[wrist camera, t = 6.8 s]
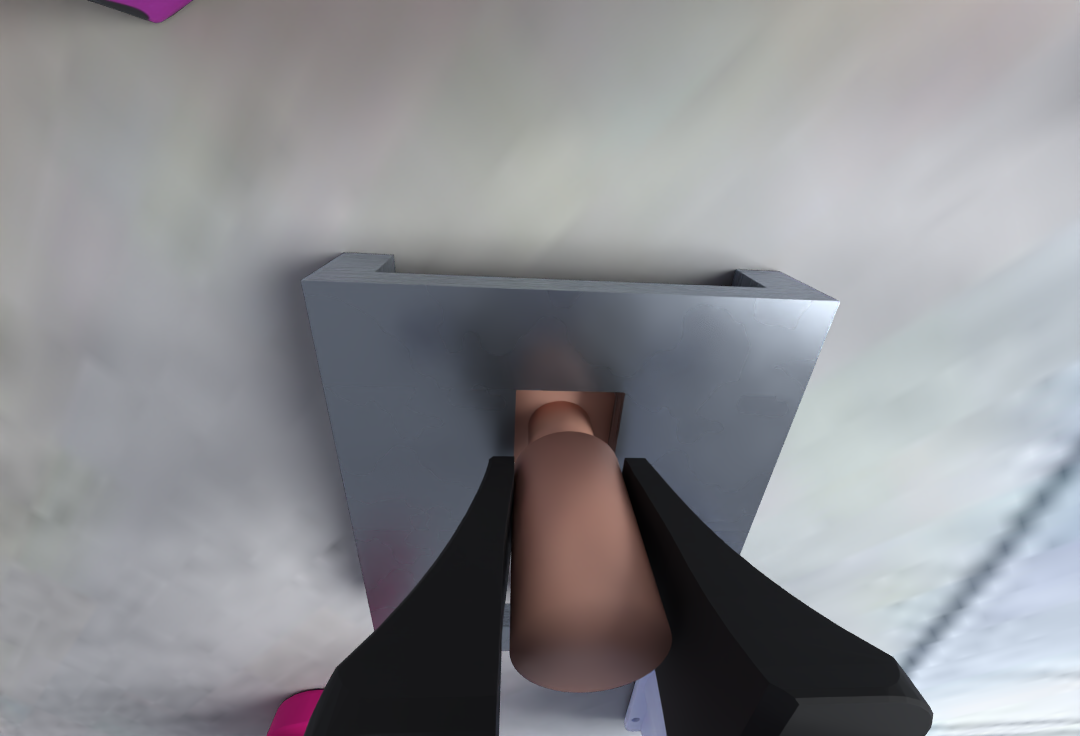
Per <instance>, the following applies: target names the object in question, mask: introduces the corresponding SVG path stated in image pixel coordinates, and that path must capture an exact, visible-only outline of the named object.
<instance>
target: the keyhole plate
mask: <svg viewBox="0 0 1080 736" xmlns="http://www.w3.org/2000/svg"><path fill="white" fill-rule="evenodd" d="M301 284H302V289H303V293H304V298H305V303H306V308H307V312H308V317H309V322H310V327H311V332H312V336H313V341H314V346H315V351H316V355H317V360H318V365H319V370H320V374H321V379H322V384H323V389H324V393H325V398H326V403H327V408H328V413H329V417H330V422H331V427H332V432H333V436H334V441H335V446H336V451H337V455H338V460H339V465H340V470H341V474H342V479H343V484H344V489H345V494H346V498H347V503H348V508H349V513H350V517H351V522H352V527H353V532H354V536H355V541H356V546H357V551H358V556H359V560H360V565H361V570H362V575H363V579H364V584H365V589H366V594H367V598H368V603H369V608H370V613H371V617H372V622H373V627H374V631H375V630H376V629H377V628H378V627H379V626H380V625H381V624H382V623H383V622H384V621H385V620H386V619H387V617H388V616H389V615H390V614H391V613H392V612H393V611H394V610H395V609H396V608H397V607H398V605H399V604H400V603H401V602H402V601H403V600H404V599H405V598H406V597H407V596H408V594H409V593H410V592H411V591H412V590H413V589H414V587H415V586H416V585H417V584H418V582H419V581H420V580H421V579H422V577H423V576H424V575H425V574H426V572H427V571H428V570H429V568H430V567H431V566H432V565H433V563H434V562H435V561H436V559H437V558H438V556H439V555H440V554H441V552H442V551H443V549H444V548H445V546H446V545H447V543H448V542H449V540H450V539H451V537H452V536H453V534H454V533H455V531H456V529H457V528H458V526H459V524H460V523H461V521H462V519H463V518H464V516H465V514H466V512H467V511H468V509H469V507H470V505H471V503H472V501H473V499H474V497H475V495H476V493H477V491H478V489H479V487H480V484H481V482H482V480H483V477H484V475H485V472H486V469H487V466H488V462H489V459H490V458H491V457H493V456H514V437H515V406H516V390H540V391H581V392H616V395H615V401H614V407H613V414H612V420H611V426H610V433H609V439H608V446H609V447H610V448H611V449H612V450H613V452H614V453H615V455H616V457H617V459H618V463H619V466H620V469H621V472H622V469H623V464H624V459H625V458H646V460H647V461H648V462H649V463H650V464H651V465H652V466H653V467H654V469H655V470H656V471H657V472H658V473H659V474H660V476H661V477H662V478H663V479H664V480H665V481H666V482H667V484H668V485H669V486H670V487H671V488H672V489H673V490H674V491H675V493H676V494H677V495H678V496H679V497H680V498H681V499H682V500H683V501H684V502H685V503H686V505H687V506H688V507H689V508H690V509H691V510H692V511H693V512H694V513H695V514H696V515H697V516H698V517H699V518H700V519H701V520H702V521H703V522H704V523H705V524H706V525H707V526H708V527H709V528H710V529H711V530H712V531H713V532H714V533H715V534H716V535H717V536H718V537H719V538H721V539H722V540H723V541H724V542H725V543H726V544H727V545H728V546H730V547H731V548H732V549H733V550H734V551H735V552H737V553H738V554H739V555H740V553H741V550H742V548H743V545H744V543H745V540H746V538H747V535H748V533H749V530H750V527H751V525H752V522H753V520H754V517H755V515H756V512H757V510H758V507H759V505H760V502H761V500H762V497H763V495H764V492H765V490H766V487H767V485H768V482H769V480H770V477H771V475H772V472H773V469H774V467H775V464H776V462H777V459H778V457H779V454H780V452H781V449H782V447H783V444H784V442H785V439H786V437H787V434H788V432H789V429H790V427H791V424H792V422H793V419H794V417H795V414H796V412H797V409H798V406H799V404H800V401H801V399H802V396H803V394H804V391H805V389H806V386H807V384H808V381H809V379H810V376H811V374H812V371H813V369H814V366H815V364H816V361H817V359H818V356H819V354H820V351H821V348H822V346H823V343H824V341H825V338H826V336H827V333H828V331H829V328H830V326H831V323H832V321H833V318H834V316H835V313H836V311H837V308H838V306H839V303H840V301H838V300H836V299H834V298H832V297H830V296H828V295H826V294H824V293H822V292H820V291H818V290H816V289H814V288H812V287H810V286H808V285H806V284H804V283H802V282H800V281H798V280H796V279H794V278H792V277H790V276H788V275H786V274H784V273H782V272H780V271H759V270H736V271H735V275H734V279H733V282H732V286H707V285H682V284H658V283H633V282H609V281H584V280H559V279H535V278H510V277H485V276H461V275H436V274H412V273H396V271H395V261H394V255H389V254H366V253H343V254H341V255H340V256H338V257H337V258H335V259H333V260H332V261H330V262H329V263H327V264H326V265H324V266H323V267H321V268H319V269H318V270H316V271H315V272H313V273H312V274H310V275H308V276H307V277H305V278H304V279H302V280H301ZM509 650H510V604H505V609H504V618H503V630H502V651H509Z"/></svg>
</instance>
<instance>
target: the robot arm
mask: <svg viewBox="0 0 1080 736" xmlns="http://www.w3.org/2000/svg"><path fill="white" fill-rule="evenodd" d="M622 475H623V479H624V482H625V485H626V488H627V491H628V495H629V498H630V501H631V504H632V507H633V511H634V514H635V517H636V520H637V524H638V527H639V530H640V533H641V536H642V540H643V543H644V546H645V549H646V552H647V556H648V559H649V562H650V565H651V568H652V572H653V575H654V578H655V581H656V585H657V588H658V591H659V594H660V597H661V601H662V604H663V607H664V610H665V613H666V617H667V620H668V623H669V626H670V629H671V634H672V644H671V648H670V650H669V653H668V655H667V656H666V658H665V659H664V660H663V662H662V663H661V664H660V665H659V666H658V667H657V668H655V669H654V670H653V671H652V672H650V673H649V674H647V675H646V676H644V677H642V678H640V679H639V680H636V682H635V686H634V689H633V693H632V696H631V700H630V703H629V707H628V710H627V713H626V717H625V720H624V724H625V729H626V730H628V731H641V733H642V736H925V735H926V734H927V732H928V731H929V730H930V728H931V725H932V719H933V712H932V710H931V708H930V706H929V705H928V703H927V702H926V701H925V699H924V698H923V697H922V695H921V694H920V692H919V691H918V690H917V688H916V687H915V686H914V684H913V683H912V681H911V680H910V679H909V677H908V676H907V675H906V673H905V672H904V671H903V669H902V668H901V666H900V665H899V664H898V663H897V661H896V660H895V659H894V658H893V657H892V656H890V655H889V654H887V653H885V652H883V651H882V650H880V649H878V648H876V647H875V646H873V645H871V644H869V643H868V642H866V641H864V640H862V639H861V638H859V637H857V636H855V635H854V634H852V633H850V632H848V631H847V630H845V629H843V628H842V627H840V626H838V625H837V624H835V623H833V622H832V621H830V620H829V619H827V618H826V617H824V616H823V615H821V614H819V613H818V612H816V611H815V610H813V609H812V608H810V607H809V606H807V605H806V604H804V603H803V602H801V601H800V600H798V599H797V598H795V597H794V596H792V595H791V594H790V593H788V592H787V591H785V590H784V589H783V588H781V587H780V586H779V585H777V584H776V583H774V582H773V581H772V580H770V579H769V578H768V577H766V576H765V575H764V574H762V573H761V572H760V571H759V570H757V569H756V568H755V567H753V566H752V565H751V564H750V563H749V562H747V561H746V560H745V559H744V558H743V557H741V556H740V555H739V554H738V553H737V552H735V551H734V550H733V549H732V548H731V547H730V546H728V545H727V544H726V543H725V542H724V541H723V540H722V539H721V538H719V537H718V536H717V535H716V534H715V533H714V532H713V531H712V530H711V529H710V528H709V527H708V526H707V525H706V524H705V523H704V522H703V521H702V520H701V519H700V518H699V517H698V516H697V515H696V514H695V513H694V512H693V511H692V510H691V509H690V508H689V507H688V506H687V505H686V503H685V502H684V501H683V500H682V499H681V498H680V497H679V496H678V495H677V494H676V493H675V491H674V490H673V489H672V488H671V487H670V486H669V485H668V484H667V482H666V481H665V480H664V479H663V478H662V477H661V476H660V474H659V473H658V472H657V471H656V470H655V469H654V467H653V466H652V465H651V464H650V463H649V462H648V461H647V460H646V458H625V459H624V464H623V469H622ZM513 497H514V456H493V457H491V458H490V459H489V462H488V466H487V469H486V472H485V475H484V477H483V480H482V482H481V484H480V487H479V489H478V491H477V493H476V495H475V497H474V499H473V501H472V503H471V505H470V507H469V509H468V511H467V512H466V514H465V516H464V518H463V519H462V521H461V523H460V524H459V526H458V528H457V529H456V531H455V533H454V534H453V536H452V537H451V539H450V540H449V542H448V543H447V545H446V546H445V548H444V549H443V551H442V552H441V554H440V555H439V556H438V558H437V559H436V561H435V562H434V563H433V565H432V566H431V567H430V568H429V570H428V571H427V572H426V574H425V575H424V576H423V577H422V579H421V580H420V581H419V582H418V584H417V585H416V586H415V587H414V589H413V590H412V591H411V592H410V593H409V594H408V596H407V597H406V598H405V599H404V600H403V601H402V602H401V603H400V604H399V605H398V607H397V608H396V609H395V610H394V611H393V612H392V613H391V614H390V615H389V616H388V617H387V619H386V620H385V621H384V622H383V623H382V624H381V625H380V626H379V627H378V628H377V629H376V630H375V631H374V632H373V633H372V634H371V635H370V636H369V637H368V638H367V639H366V640H365V641H364V642H363V643H362V644H361V645H359V646H358V647H357V648H356V649H355V650H354V651H353V652H352V653H351V654H350V655H349V656H348V657H347V658H346V659H345V660H344V661H343V662H342V663H340V664H339V665H338V666H337V667H336V669H335V670H334V672H333V674H332V676H331V677H330V679H329V681H328V683H327V685H326V686H325V688H324V690H323V692H322V694H321V696H320V698H319V700H318V702H317V704H316V707H315V709H314V711H313V713H312V715H311V717H310V720H309V722H308V725H307V727H306V730H305V733H304V736H499V715H500V683H501V651H502V630H503V618H504V609H505V600H506V591H507V582H508V574H509V565H510V556H511V536H512V509H513Z"/></svg>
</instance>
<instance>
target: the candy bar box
mask: <svg viewBox="0 0 1080 736" xmlns="http://www.w3.org/2000/svg"><path fill="white" fill-rule="evenodd" d="M88 1H91V2H95V3H98V4H101V5H104V6H107V7H110V8H113V9H116V10H119V11H122V12H125V13H128V14H131V15H134V16H136V17H139V18H142V19H145V20H148V21H151V22H154V23H159V22H162V21H164V20H165V19H167V18H169V17H170V16H172V15H174V14H175V13H176V12H178V11H179V10H180V9H182V8H183V7H184V6H186V5H187V4H188V3H190V2H191V1H193V0H88Z"/></svg>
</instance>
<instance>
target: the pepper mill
mask: <svg viewBox="0 0 1080 736" xmlns="http://www.w3.org/2000/svg"><path fill="white" fill-rule="evenodd" d="M323 690H324V689H323ZM323 690H311V691H305V692H301V693H298V694H295V695H294V696H292V697H290V698H288V699H287V700H285V701H284V702H283V703H282V704H281V705H280V707H279V708H278V710H277V712H276V714H275V717H274V719H273V722H272V724H271V726H270V729H269V731H268V733H267V736H304V733H305V730H306V727H307V725H308V722H309V720H310V717H311V715H312V713H313V711H314V709H315V707H316V704H317V702H318V700H319V698H320V696H321V694H322V692H323Z"/></svg>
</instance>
